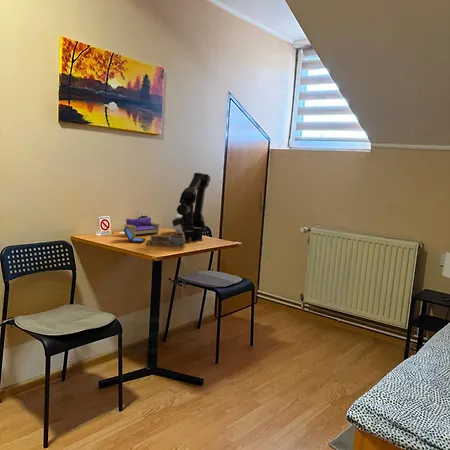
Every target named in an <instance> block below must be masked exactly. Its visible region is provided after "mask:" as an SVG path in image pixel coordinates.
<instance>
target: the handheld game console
mask: <svg viewBox="0 0 450 450" xmlns="http://www.w3.org/2000/svg"><path fill="white" fill-rule="evenodd" d="M123 232H124V235H125V234H126V235H125V236H126V238H127V239H128V243H129V244H143V243H144V242H145V241H146V238H144V237H133V235H132V233H131V232H130V230H129V228H128V227H126V228H125V227H124V228H123Z"/></svg>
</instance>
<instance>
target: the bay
mask: <svg viewBox="0 0 450 450" xmlns="http://www.w3.org/2000/svg"><path fill="white" fill-rule="evenodd" d="M169 237H170V235H150V237H149V247H150V246H151V247H167V248H168V247H170V248H172V247H173V242H168V240H169Z"/></svg>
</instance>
